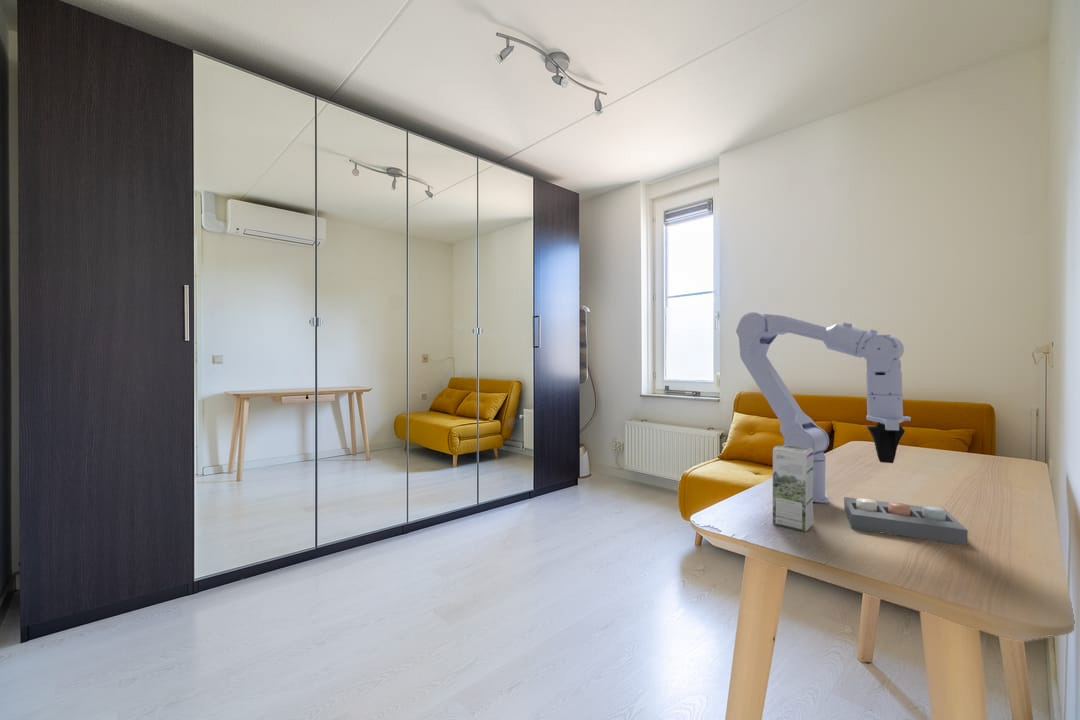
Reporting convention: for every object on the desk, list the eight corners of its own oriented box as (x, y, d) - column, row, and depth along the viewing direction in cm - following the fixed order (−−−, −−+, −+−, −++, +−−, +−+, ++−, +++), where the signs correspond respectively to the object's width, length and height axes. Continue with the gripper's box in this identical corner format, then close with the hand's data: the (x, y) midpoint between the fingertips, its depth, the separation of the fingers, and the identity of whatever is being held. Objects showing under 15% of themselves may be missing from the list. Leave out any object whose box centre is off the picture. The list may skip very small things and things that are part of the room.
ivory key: (857, 516, 86) (857, 501, 86) (855, 511, 89) (855, 497, 89) (878, 518, 85) (878, 504, 85) (875, 513, 88) (875, 499, 88)
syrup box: (813, 524, 85) (814, 447, 85) (805, 533, 81) (806, 451, 81) (780, 516, 89) (781, 443, 89) (771, 524, 85) (771, 447, 85)
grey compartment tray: (851, 528, 83) (851, 514, 83) (844, 509, 94) (844, 496, 94) (967, 545, 76) (967, 530, 76) (945, 522, 86) (945, 509, 86)
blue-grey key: (924, 525, 82) (925, 510, 82) (920, 519, 84) (920, 505, 84) (948, 528, 80) (948, 513, 80) (942, 522, 83) (942, 508, 83)
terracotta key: (890, 520, 84) (890, 505, 84) (886, 515, 87) (886, 501, 87) (912, 523, 82) (912, 508, 82) (908, 518, 85) (908, 503, 85)
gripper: (919, 396, 83) (921, 471, 83) (901, 392, 96) (903, 457, 96) (871, 396, 86) (873, 467, 86) (860, 392, 99) (862, 454, 99)
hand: (886, 462), depth 91 cm, fingers closed
